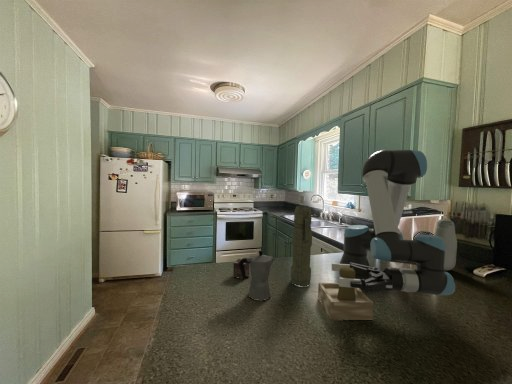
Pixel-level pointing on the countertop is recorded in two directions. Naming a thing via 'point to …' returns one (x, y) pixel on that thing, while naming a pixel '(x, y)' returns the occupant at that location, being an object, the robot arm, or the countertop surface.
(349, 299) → the cork
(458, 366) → the countertop surface
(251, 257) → the coffeepot
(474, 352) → the countertop surface
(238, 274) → the box
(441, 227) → the grey rounded cylinder
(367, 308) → the oak stand
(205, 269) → the countertop surface
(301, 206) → the thermos
